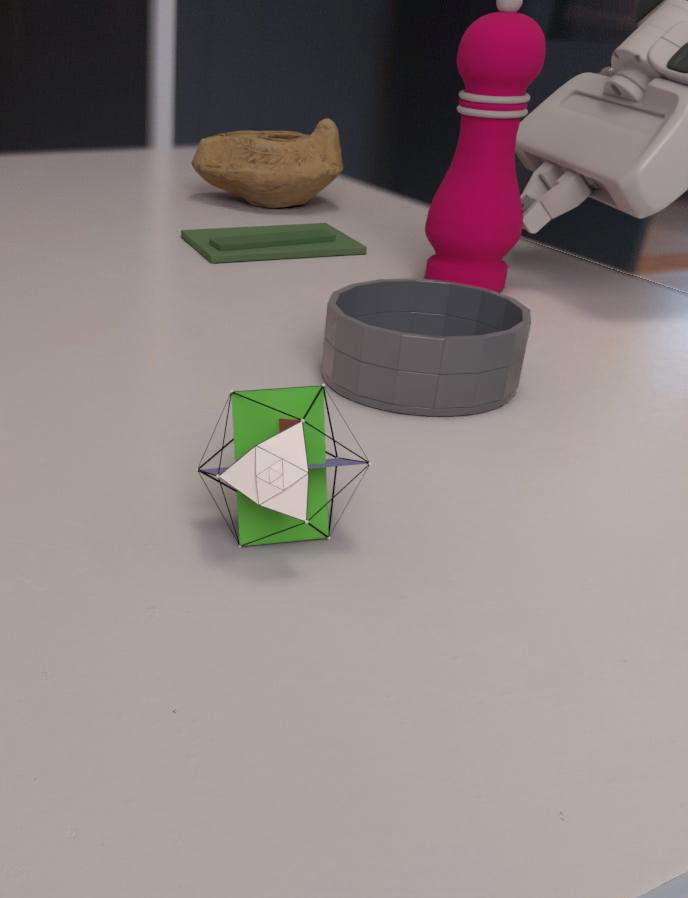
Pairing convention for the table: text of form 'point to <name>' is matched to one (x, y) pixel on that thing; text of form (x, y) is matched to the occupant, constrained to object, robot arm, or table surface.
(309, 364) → the table surface
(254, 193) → the oil lamp
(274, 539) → the geometric puzzle
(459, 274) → the pepper mill
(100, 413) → the table surface
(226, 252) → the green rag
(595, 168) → the robot arm
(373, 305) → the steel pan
